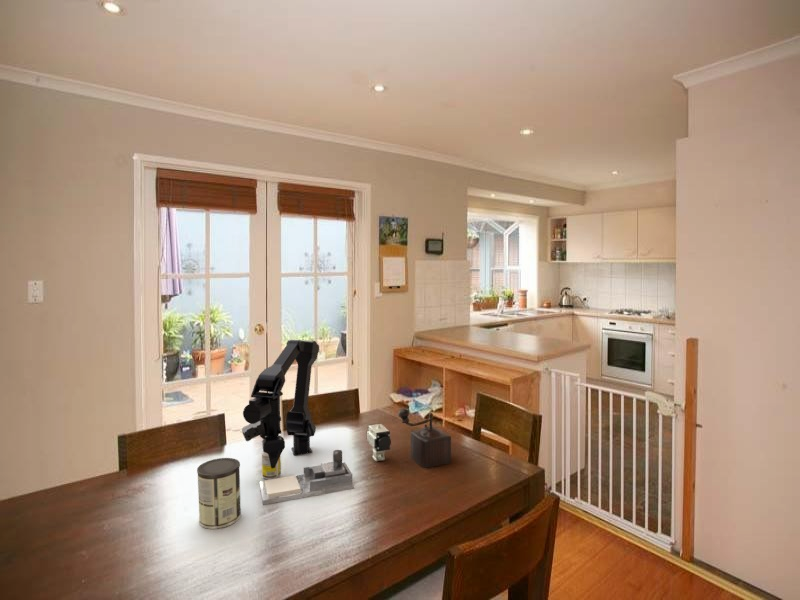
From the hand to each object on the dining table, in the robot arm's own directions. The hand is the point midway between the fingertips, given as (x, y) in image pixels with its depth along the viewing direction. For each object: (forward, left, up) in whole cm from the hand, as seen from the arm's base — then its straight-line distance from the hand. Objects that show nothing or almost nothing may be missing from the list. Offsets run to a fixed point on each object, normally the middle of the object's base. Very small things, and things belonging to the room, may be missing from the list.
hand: (271, 461), depth 143 cm
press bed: (+11, +2, -3) cm, 12 cm away
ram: (+11, +15, -3) cm, 19 cm away
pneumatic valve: (0, +35, -5) cm, 35 cm away
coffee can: (+20, -15, -5) cm, 26 cm away
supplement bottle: (0, 0, -5) cm, 5 cm away
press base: (+11, +9, -4) cm, 15 cm away
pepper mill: (+7, +49, -5) cm, 50 cm away
